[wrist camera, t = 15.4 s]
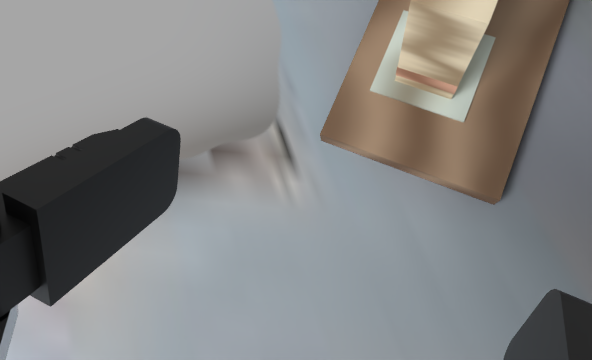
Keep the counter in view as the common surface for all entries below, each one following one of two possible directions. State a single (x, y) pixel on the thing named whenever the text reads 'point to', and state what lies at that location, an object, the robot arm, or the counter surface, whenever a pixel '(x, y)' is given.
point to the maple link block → (441, 42)
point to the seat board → (442, 111)
